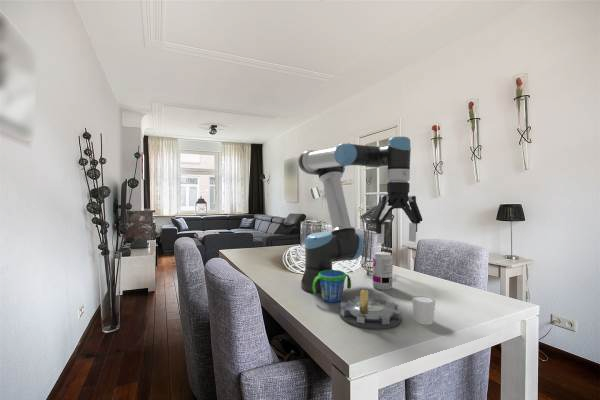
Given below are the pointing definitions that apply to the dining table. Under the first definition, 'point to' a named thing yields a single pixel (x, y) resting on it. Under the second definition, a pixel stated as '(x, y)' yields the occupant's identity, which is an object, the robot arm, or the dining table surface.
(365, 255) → the geometric lantern
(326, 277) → the snack cup
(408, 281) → the dining table surface
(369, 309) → the sprocket
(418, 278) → the dining table surface
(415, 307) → the shot glass
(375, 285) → the supplement can
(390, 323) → the sprocket base
